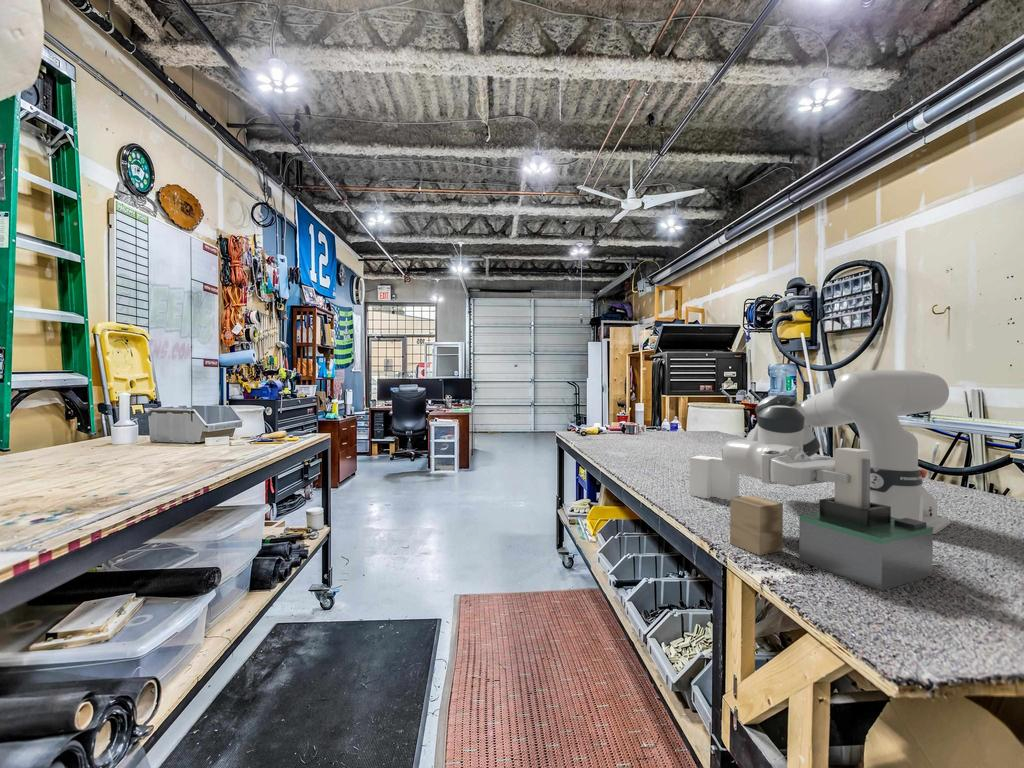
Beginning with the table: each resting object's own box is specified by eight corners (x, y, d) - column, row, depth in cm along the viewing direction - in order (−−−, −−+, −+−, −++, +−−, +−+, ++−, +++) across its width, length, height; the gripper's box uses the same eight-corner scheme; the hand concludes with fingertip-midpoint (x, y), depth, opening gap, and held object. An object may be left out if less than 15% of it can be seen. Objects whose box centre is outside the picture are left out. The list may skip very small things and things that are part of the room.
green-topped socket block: (848, 548, 92) (848, 492, 92) (932, 575, 80) (932, 510, 79) (799, 559, 86) (799, 500, 86) (881, 591, 73) (882, 520, 73)
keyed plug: (846, 506, 87) (847, 447, 87) (874, 513, 83) (875, 451, 83) (834, 508, 86) (835, 448, 86) (861, 515, 81) (862, 452, 81)
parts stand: (752, 539, 97) (752, 495, 97) (782, 550, 91) (782, 503, 91) (730, 543, 95) (730, 498, 95) (759, 555, 88) (759, 506, 88)
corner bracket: (689, 495, 136) (690, 457, 136) (705, 489, 143) (705, 453, 143) (725, 502, 128) (725, 462, 128) (739, 496, 135) (739, 458, 135)
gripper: (817, 475, 101) (888, 489, 88) (756, 483, 93) (823, 499, 80) (817, 448, 101) (888, 458, 88) (756, 454, 93) (824, 465, 80)
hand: (857, 478), depth 84 cm, fingers closed on keyed plug, 4 cm apart
